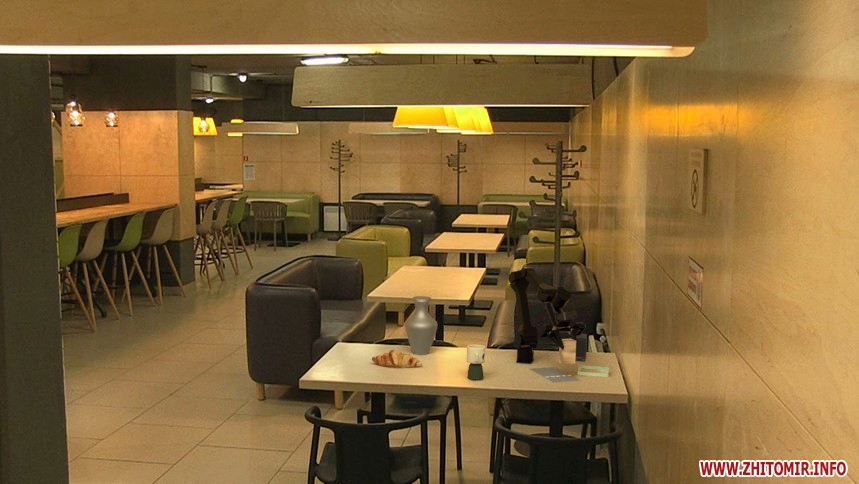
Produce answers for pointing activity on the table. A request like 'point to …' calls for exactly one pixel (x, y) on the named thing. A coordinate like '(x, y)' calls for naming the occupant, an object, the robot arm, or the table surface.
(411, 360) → the croissant
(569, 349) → the stub
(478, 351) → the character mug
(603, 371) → the tray
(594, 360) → the table surface
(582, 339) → the small box
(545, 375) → the ticket board
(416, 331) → the vase
